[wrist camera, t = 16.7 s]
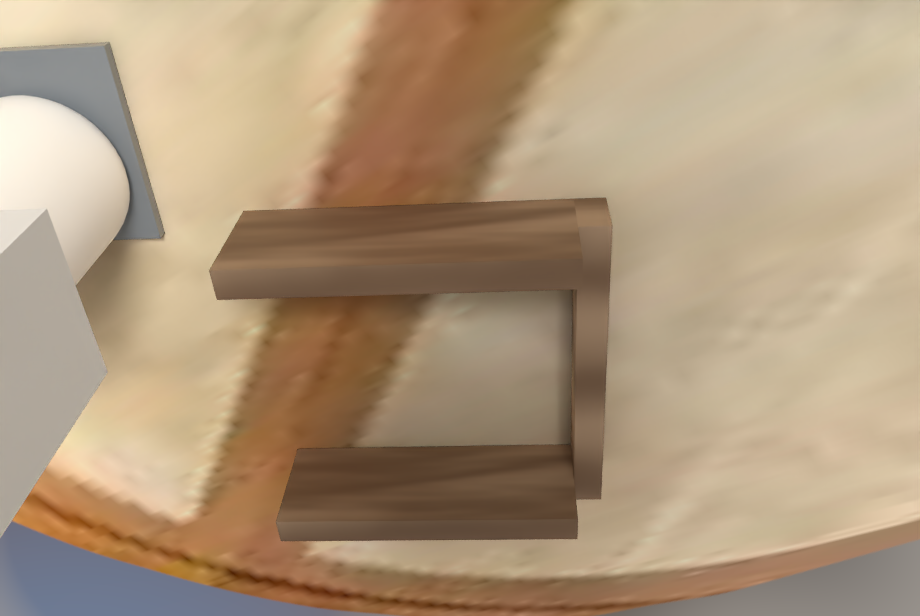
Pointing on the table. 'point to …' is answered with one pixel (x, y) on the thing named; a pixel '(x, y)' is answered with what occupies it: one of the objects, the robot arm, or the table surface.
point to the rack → (429, 272)
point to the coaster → (88, 111)
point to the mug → (62, 175)
